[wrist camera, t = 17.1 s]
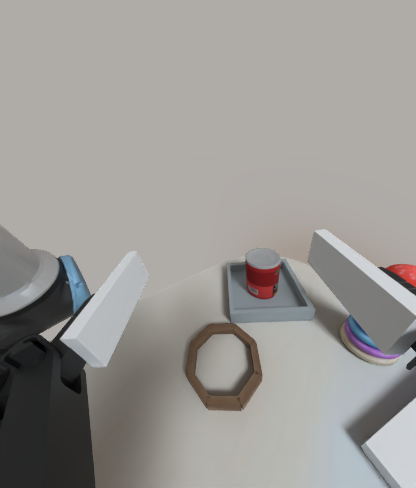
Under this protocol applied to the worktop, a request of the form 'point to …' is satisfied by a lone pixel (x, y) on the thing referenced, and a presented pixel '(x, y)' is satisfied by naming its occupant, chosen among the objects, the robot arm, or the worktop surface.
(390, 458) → the white platform stand
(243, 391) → the holder ring
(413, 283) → the stacking toy
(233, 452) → the worktop surface
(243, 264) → the tray
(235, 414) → the worktop surface
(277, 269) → the canned food
